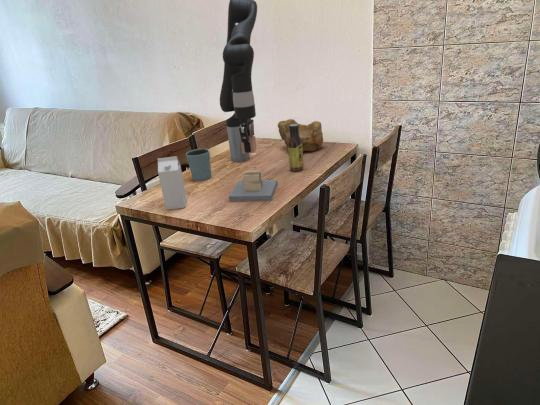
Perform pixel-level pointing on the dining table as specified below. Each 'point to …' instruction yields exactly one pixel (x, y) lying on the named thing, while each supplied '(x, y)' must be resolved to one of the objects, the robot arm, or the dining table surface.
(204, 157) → the teal cup
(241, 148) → the robot arm
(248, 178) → the beech cube
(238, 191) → the base board
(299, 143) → the sauce bottle
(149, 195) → the dining table surface
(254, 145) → the terracotta block
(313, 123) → the rough brown rock
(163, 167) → the milk carton
